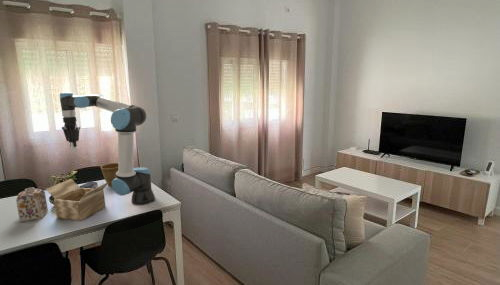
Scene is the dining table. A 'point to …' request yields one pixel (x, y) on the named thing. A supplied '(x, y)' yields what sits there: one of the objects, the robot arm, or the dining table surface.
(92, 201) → the carton
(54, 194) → the far flap
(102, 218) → the dining table surface
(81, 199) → the near flap
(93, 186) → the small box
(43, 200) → the decorative jar
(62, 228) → the dining table surface
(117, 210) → the dining table surface
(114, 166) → the plant pot
